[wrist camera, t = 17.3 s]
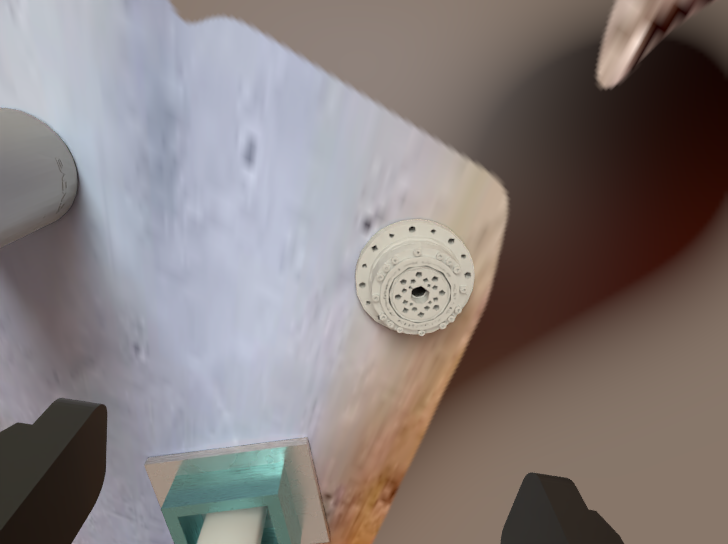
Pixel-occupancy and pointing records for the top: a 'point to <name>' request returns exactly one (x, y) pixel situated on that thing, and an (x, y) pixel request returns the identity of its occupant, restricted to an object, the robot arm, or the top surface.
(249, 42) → the top surface
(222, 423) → the top surface
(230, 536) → the eye dropper bottle
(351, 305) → the top surface
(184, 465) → the tray
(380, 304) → the mechanical component
